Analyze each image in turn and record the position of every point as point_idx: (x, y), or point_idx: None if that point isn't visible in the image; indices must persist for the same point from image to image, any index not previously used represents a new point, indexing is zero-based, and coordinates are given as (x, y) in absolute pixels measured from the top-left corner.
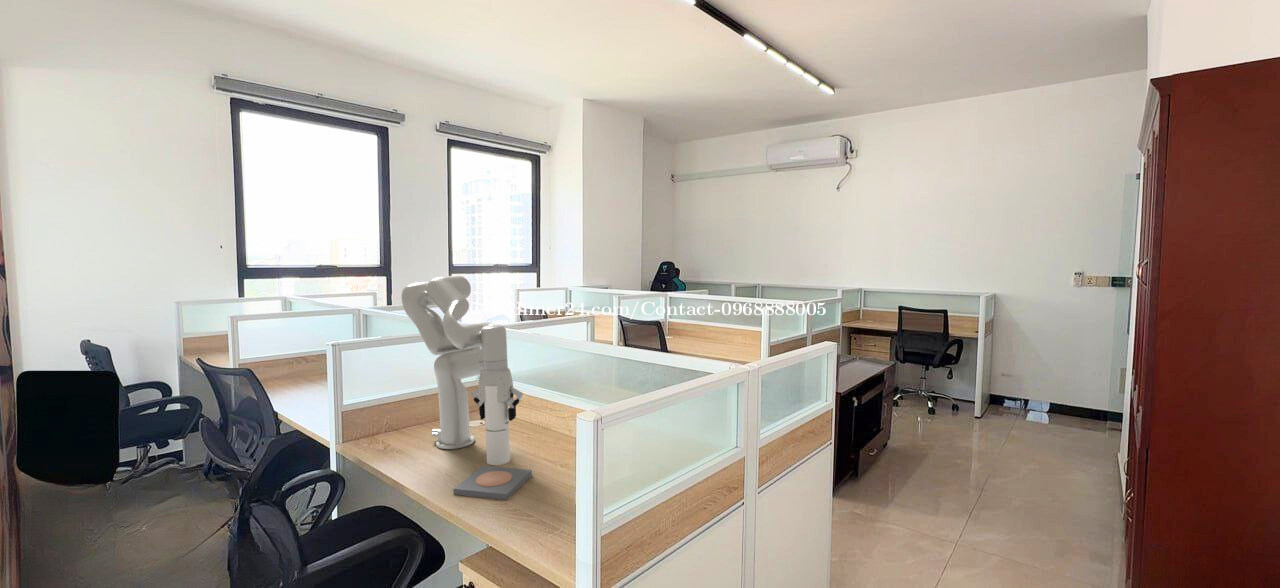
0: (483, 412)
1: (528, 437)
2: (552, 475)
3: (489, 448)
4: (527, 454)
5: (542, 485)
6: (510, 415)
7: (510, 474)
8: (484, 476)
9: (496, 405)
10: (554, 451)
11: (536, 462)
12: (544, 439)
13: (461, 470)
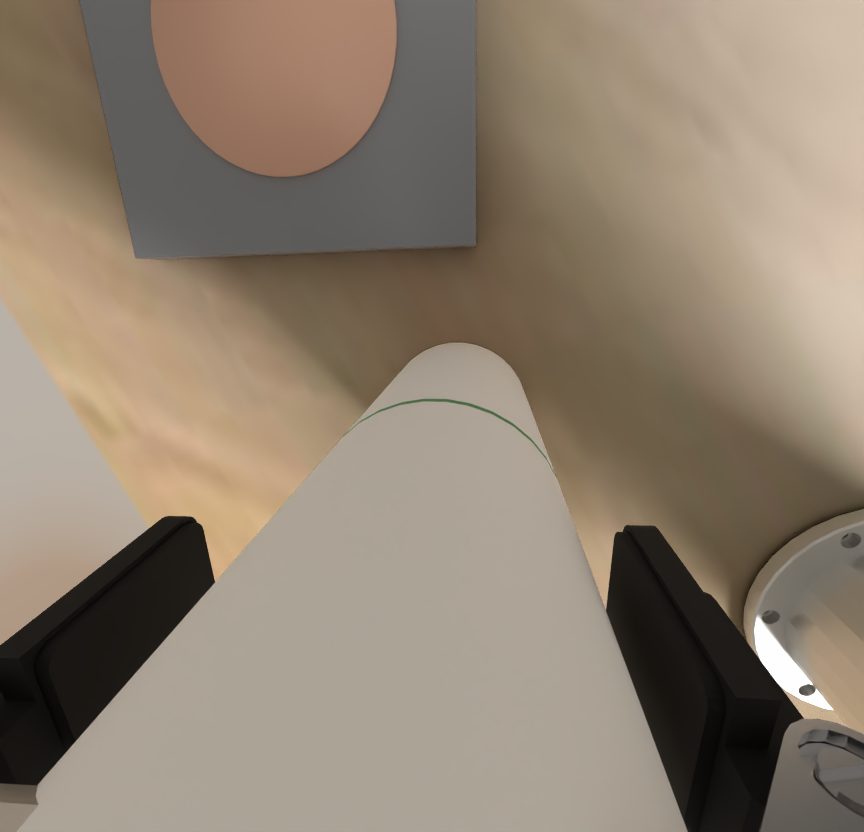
0: (647, 625)
1: None
2: (59, 286)
3: (477, 365)
4: None
5: (23, 138)
6: (112, 558)
7: (204, 137)
8: (354, 45)
9: (169, 669)
10: None
11: (237, 429)
12: None
13: (625, 212)
